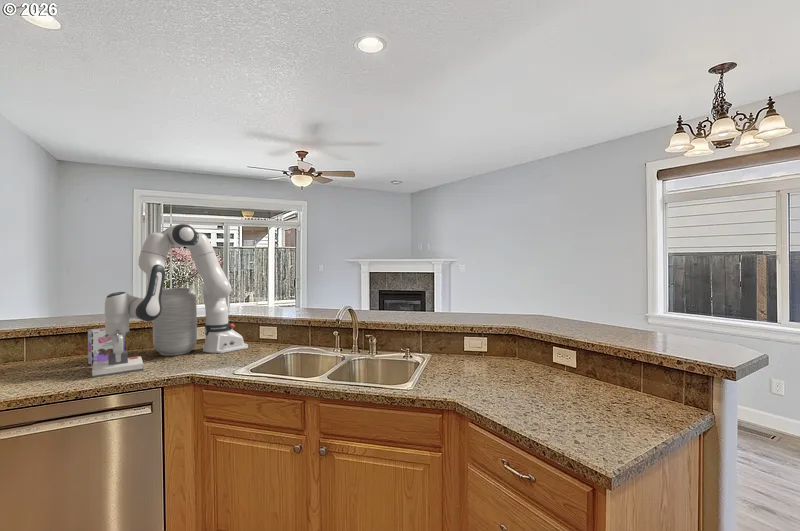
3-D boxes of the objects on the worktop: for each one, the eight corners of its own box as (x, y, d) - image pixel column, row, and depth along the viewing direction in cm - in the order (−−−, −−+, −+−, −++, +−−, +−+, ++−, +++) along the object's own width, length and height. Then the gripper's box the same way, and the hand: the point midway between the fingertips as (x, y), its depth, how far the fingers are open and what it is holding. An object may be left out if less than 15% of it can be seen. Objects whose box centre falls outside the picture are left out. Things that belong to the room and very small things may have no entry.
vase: (192, 346, 223) (191, 286, 223) (201, 353, 208) (200, 289, 207) (150, 352, 211) (149, 288, 210) (156, 359, 195) (155, 291, 194)
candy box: (91, 366, 184) (91, 330, 184) (87, 364, 188) (87, 329, 187) (126, 359, 195) (125, 326, 195) (121, 358, 199) (121, 325, 198)
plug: (127, 364, 183) (127, 348, 182) (128, 366, 178) (127, 350, 178) (108, 366, 179) (108, 350, 178) (108, 369, 174) (108, 353, 174)
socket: (141, 362, 190) (140, 354, 190) (143, 370, 177) (143, 362, 177) (93, 368, 180) (93, 361, 179) (92, 377, 167) (92, 369, 167)
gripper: (126, 331, 171) (127, 363, 172) (125, 324, 188) (126, 353, 188) (108, 333, 168) (109, 365, 168) (108, 326, 184) (109, 355, 185)
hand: (118, 359), depth 178 cm, fingers open, 8 cm apart
